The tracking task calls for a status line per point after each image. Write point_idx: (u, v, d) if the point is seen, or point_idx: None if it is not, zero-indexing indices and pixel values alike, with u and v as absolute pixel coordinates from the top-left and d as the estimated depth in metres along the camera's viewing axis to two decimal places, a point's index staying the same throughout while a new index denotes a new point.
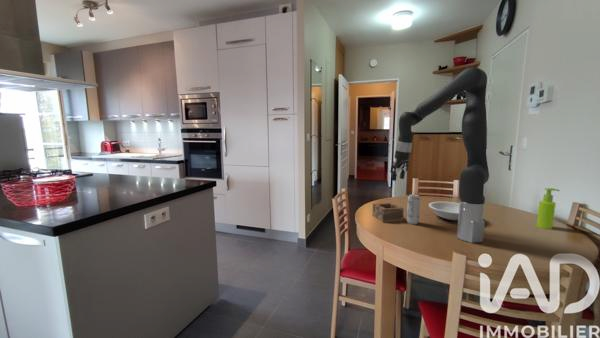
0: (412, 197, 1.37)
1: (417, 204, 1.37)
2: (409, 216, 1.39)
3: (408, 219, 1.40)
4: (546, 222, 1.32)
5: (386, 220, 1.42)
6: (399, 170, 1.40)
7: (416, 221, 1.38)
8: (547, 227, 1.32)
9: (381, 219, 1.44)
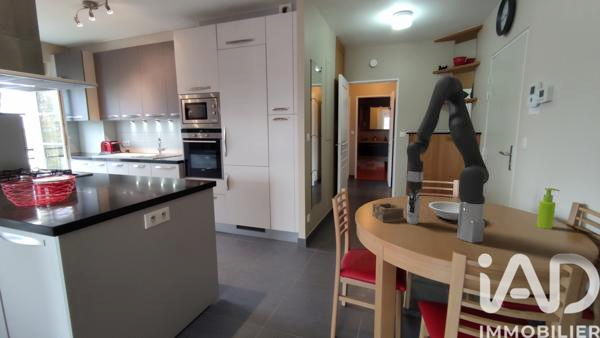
0: None
1: (417, 204, 1.37)
2: (409, 216, 1.39)
3: (408, 219, 1.40)
4: (546, 222, 1.32)
5: (386, 220, 1.42)
6: None
7: (416, 221, 1.38)
8: (547, 227, 1.32)
9: (381, 219, 1.44)
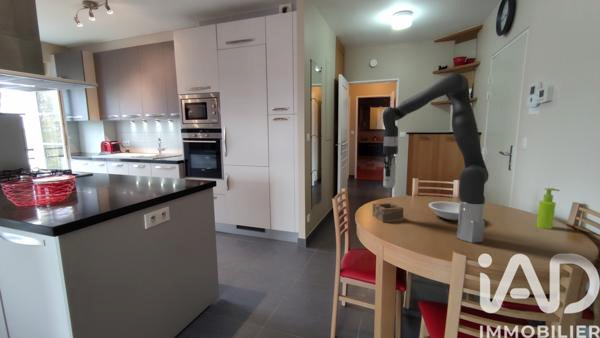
0: None
1: (392, 168, 1.42)
2: (385, 180, 1.44)
3: (384, 183, 1.45)
4: (546, 222, 1.32)
5: (386, 220, 1.42)
6: (391, 165, 1.42)
7: (391, 184, 1.43)
8: (547, 227, 1.32)
9: (381, 219, 1.44)
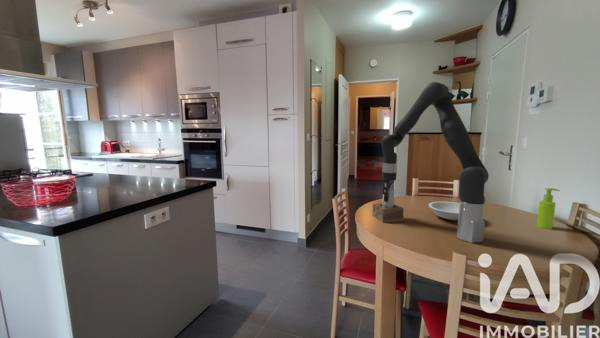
0: None
1: (391, 195, 1.44)
2: (384, 206, 1.46)
3: None
4: (546, 222, 1.32)
5: (386, 220, 1.42)
6: None
7: None
8: (547, 227, 1.32)
9: (381, 219, 1.44)
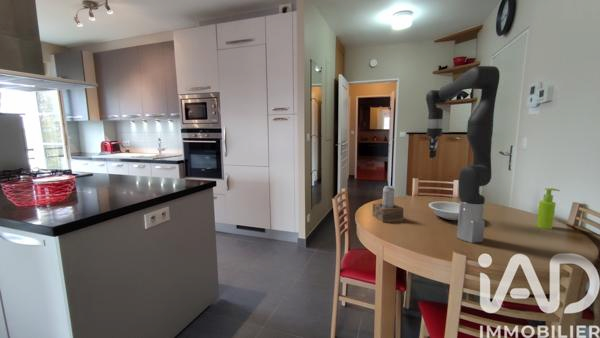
0: (387, 188, 1.45)
1: (391, 195, 1.44)
2: (384, 206, 1.46)
3: None
4: (546, 222, 1.32)
5: (386, 220, 1.42)
6: (436, 146, 1.43)
7: None
8: (547, 227, 1.32)
9: (381, 219, 1.44)
